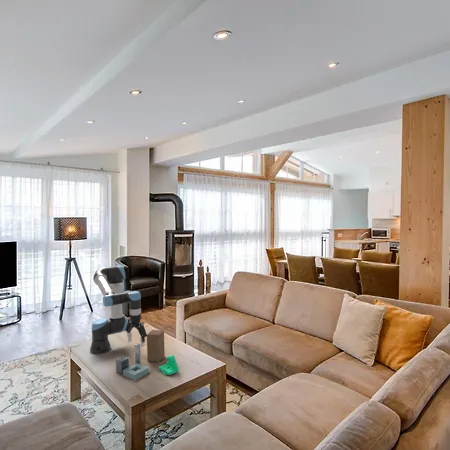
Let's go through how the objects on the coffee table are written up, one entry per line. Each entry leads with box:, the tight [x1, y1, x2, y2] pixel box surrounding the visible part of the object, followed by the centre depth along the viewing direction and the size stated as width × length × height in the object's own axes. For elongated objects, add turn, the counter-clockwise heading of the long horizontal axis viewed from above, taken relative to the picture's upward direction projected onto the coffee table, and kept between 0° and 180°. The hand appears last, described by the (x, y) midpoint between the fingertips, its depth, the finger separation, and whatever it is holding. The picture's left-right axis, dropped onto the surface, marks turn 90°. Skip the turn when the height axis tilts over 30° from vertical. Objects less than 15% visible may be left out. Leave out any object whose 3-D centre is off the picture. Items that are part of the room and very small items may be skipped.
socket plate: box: [122, 363, 150, 381], centre depth 217 cm, size 12×12×4 cm
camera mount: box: [159, 354, 180, 376], centre depth 220 cm, size 12×8×10 cm, turn 45°
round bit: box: [134, 343, 142, 365], centre depth 231 cm, size 4×4×14 cm
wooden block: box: [146, 329, 166, 363], centre depth 239 cm, size 10×10×20 cm
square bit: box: [115, 355, 130, 376], centre depth 220 cm, size 6×6×9 cm
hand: (136, 344), depth 226 cm, fingers open, 13 cm apart
